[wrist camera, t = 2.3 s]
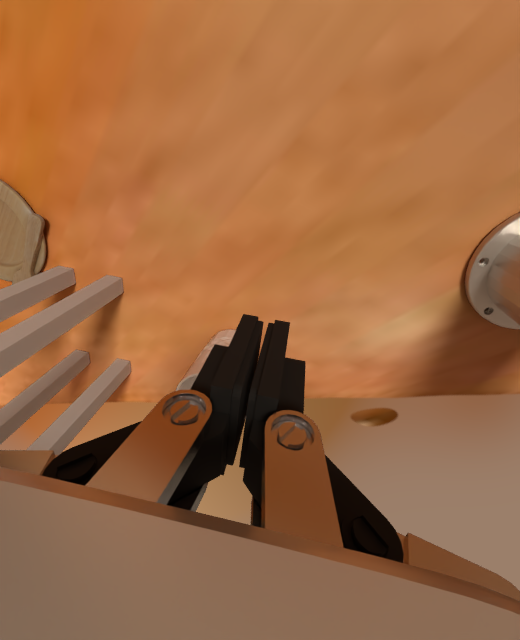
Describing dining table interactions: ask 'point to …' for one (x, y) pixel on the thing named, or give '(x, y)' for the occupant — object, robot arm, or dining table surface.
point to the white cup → (204, 358)
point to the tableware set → (19, 237)
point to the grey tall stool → (39, 332)
